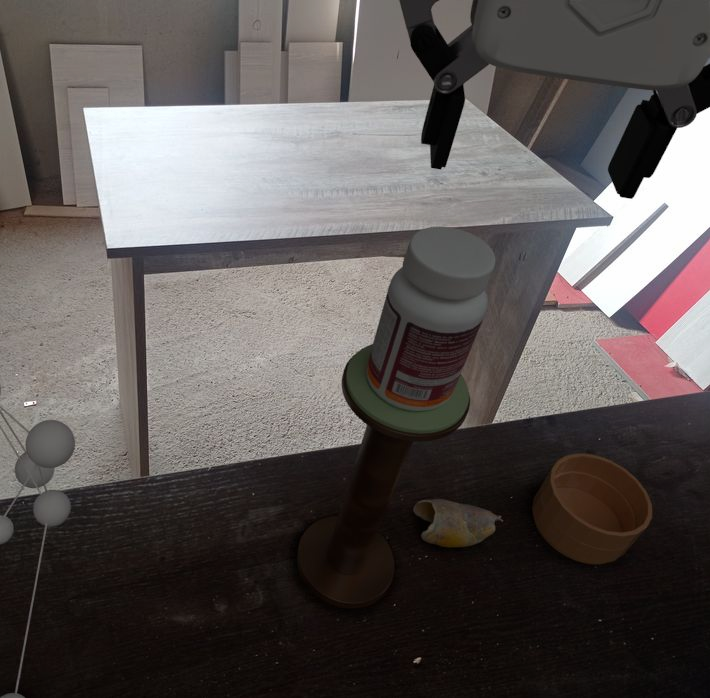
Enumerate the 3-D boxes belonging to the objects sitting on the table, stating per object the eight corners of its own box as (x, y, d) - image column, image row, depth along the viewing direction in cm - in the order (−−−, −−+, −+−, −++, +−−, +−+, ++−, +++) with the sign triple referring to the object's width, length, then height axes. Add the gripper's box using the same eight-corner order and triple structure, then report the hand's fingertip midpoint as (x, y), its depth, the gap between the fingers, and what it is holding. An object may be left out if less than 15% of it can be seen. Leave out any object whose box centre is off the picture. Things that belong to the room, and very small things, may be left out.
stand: (410, 561, 68) (492, 386, 51) (357, 629, 62) (430, 458, 46) (332, 505, 72) (386, 326, 55) (276, 564, 66) (317, 386, 50)
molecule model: (107, 485, 73) (150, 380, 61) (16, 754, 56) (50, 684, 43) (-30, 440, 71) (-14, 322, 59) (-169, 704, 54) (-189, 616, 41)
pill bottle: (469, 392, 50) (527, 262, 42) (408, 428, 47) (458, 295, 39) (407, 340, 54) (450, 210, 46) (346, 371, 51) (380, 238, 43)
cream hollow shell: (467, 503, 73) (498, 495, 70) (474, 549, 72) (507, 543, 68) (402, 502, 70) (432, 494, 66) (409, 550, 69) (439, 544, 65)
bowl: (638, 523, 73) (665, 491, 69) (606, 585, 68) (633, 554, 64) (552, 470, 77) (572, 438, 73) (515, 525, 72) (535, 493, 68)
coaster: (488, 386, 51) (490, 382, 51) (429, 455, 46) (430, 451, 46) (387, 328, 55) (388, 324, 55) (321, 386, 50) (322, 382, 50)
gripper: (456, -262, 25) (362, 180, 36) (989, -204, 23) (714, 235, 35) (448, -270, 30) (369, 117, 42) (880, -223, 29) (674, 162, 41)
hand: (526, 171), depth 38 cm, fingers open, 9 cm apart
